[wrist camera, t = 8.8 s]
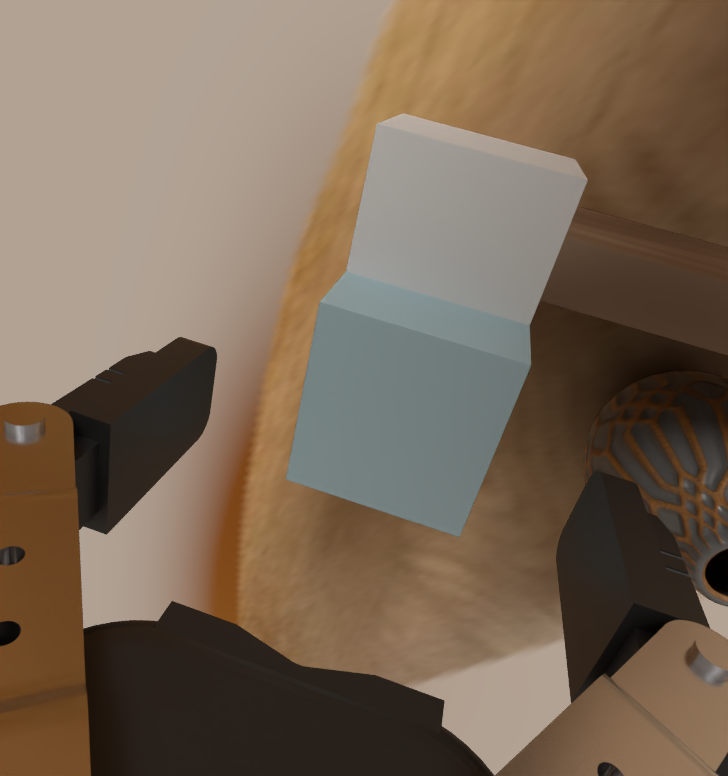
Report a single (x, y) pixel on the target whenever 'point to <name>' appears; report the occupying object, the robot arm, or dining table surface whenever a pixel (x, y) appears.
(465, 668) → the dining table surface
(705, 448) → the vase
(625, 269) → the wall board
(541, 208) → the cabinet
